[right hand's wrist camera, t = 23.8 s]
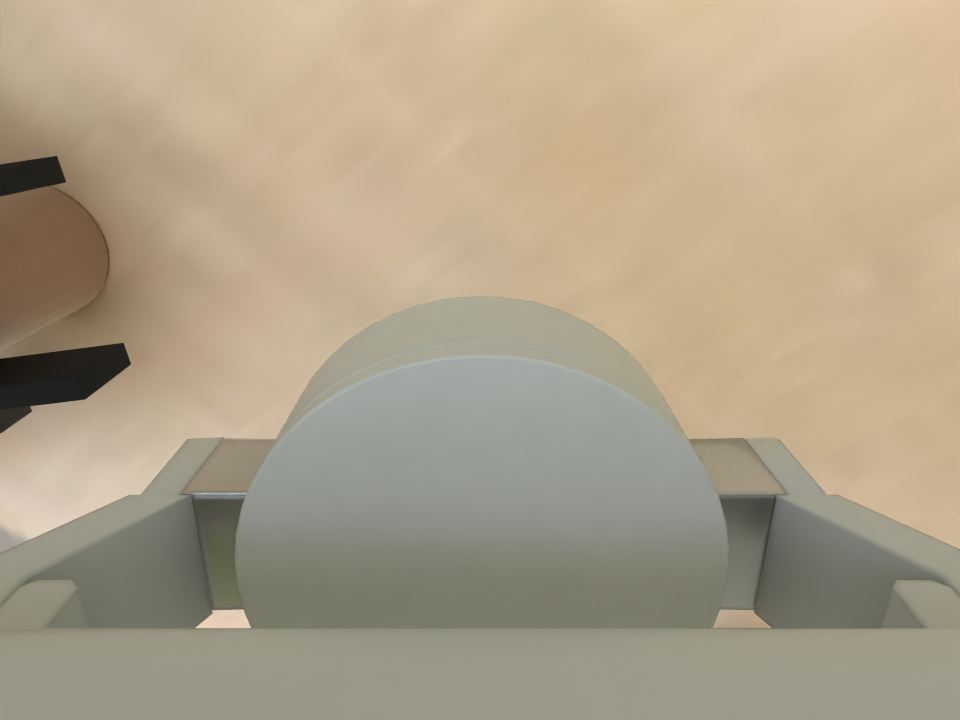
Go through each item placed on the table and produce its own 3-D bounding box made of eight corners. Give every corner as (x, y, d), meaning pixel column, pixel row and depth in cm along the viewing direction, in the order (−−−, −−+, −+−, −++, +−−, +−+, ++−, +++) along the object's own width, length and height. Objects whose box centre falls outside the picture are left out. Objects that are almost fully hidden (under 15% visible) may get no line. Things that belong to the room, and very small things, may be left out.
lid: (709, 590, 11) (762, 705, 9) (364, 669, 12) (339, 795, 10) (634, 240, 9) (682, 286, 7) (217, 360, 9) (145, 437, 7)
